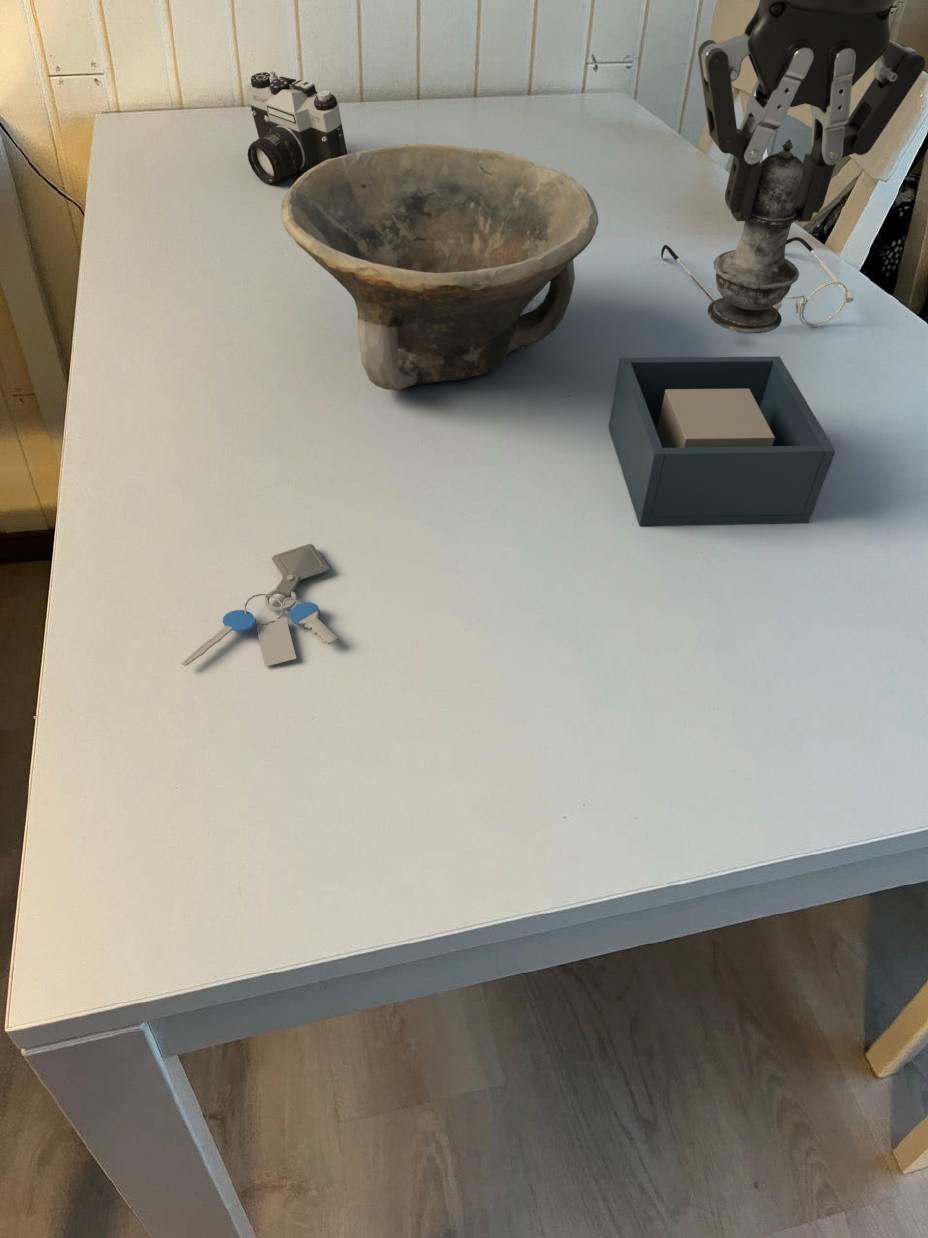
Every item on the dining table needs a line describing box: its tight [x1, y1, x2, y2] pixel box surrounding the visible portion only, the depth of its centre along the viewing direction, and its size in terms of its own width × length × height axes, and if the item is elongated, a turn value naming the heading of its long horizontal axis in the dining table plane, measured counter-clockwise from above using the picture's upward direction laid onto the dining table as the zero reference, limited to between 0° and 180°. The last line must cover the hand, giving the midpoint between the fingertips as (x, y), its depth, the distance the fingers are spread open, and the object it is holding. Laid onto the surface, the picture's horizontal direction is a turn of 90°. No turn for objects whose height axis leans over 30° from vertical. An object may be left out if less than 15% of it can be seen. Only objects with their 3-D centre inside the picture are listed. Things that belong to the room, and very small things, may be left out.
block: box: [657, 389, 775, 448], centre depth 77 cm, size 7×7×5 cm
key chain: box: [181, 543, 338, 668], centre depth 65 cm, size 14×8×1 cm, turn 157°
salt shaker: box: [707, 139, 804, 334], centre depth 65 cm, size 6×6×12 cm
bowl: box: [280, 143, 599, 391], centre depth 86 cm, size 27×26×15 cm
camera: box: [245, 71, 349, 185], centre depth 119 cm, size 15×11×10 cm
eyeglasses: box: [660, 236, 855, 328], centre depth 101 cm, size 16×19×5 cm
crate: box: [607, 355, 836, 527], centre depth 77 cm, size 14×14×7 cm
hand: (770, 215), depth 64 cm, fingers closed on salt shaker, 3 cm apart
